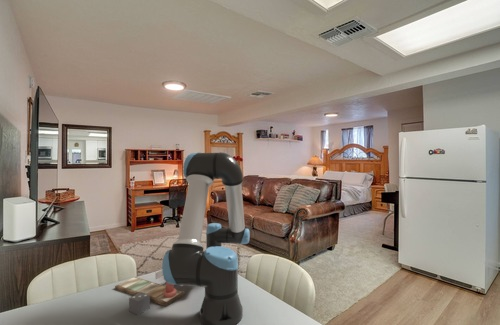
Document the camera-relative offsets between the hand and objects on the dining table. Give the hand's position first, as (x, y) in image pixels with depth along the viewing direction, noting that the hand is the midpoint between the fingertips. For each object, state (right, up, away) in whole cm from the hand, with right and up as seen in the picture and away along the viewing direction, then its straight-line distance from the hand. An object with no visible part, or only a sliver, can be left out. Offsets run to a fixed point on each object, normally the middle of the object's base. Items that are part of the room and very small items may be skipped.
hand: (168, 279), depth 101 cm
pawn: (+1, -7, 0) cm, 7 cm away
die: (-8, -8, -8) cm, 14 cm away
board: (-10, -8, +6) cm, 14 cm away
